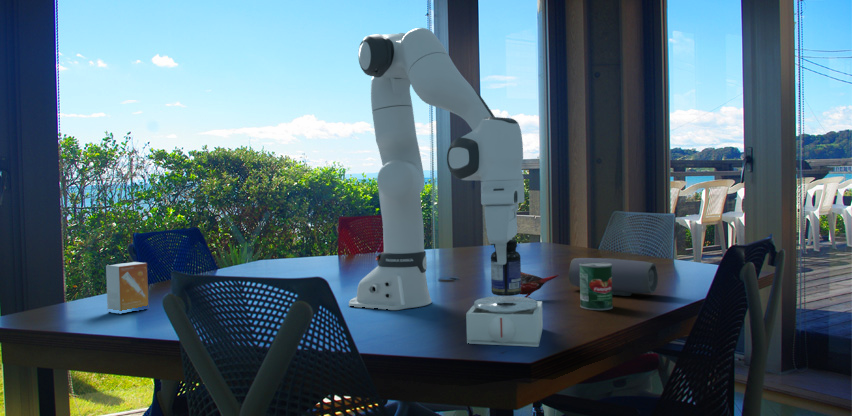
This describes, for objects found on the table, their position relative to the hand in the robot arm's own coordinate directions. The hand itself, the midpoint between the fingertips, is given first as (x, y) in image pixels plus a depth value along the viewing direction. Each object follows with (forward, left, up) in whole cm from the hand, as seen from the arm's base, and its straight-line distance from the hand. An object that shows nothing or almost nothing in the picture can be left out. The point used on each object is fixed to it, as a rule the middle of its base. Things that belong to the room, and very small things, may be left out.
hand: (504, 261), depth 115 cm
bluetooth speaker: (+24, +50, -16) cm, 58 cm away
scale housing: (0, 0, -16) cm, 16 cm away
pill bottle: (0, 0, -7) cm, 7 cm away
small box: (-104, +9, -16) cm, 106 cm away
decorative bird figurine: (+2, +38, -16) cm, 41 cm away
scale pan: (0, 0, -12) cm, 12 cm away
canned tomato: (+19, +31, -16) cm, 40 cm away
